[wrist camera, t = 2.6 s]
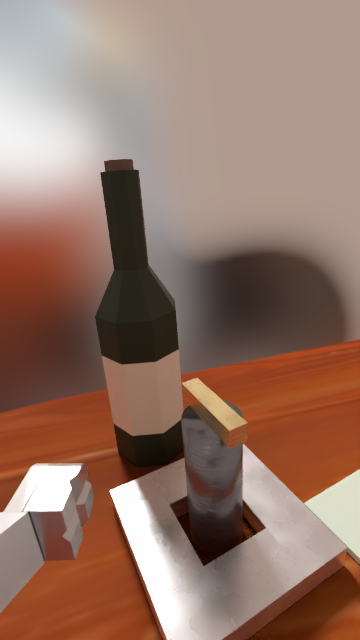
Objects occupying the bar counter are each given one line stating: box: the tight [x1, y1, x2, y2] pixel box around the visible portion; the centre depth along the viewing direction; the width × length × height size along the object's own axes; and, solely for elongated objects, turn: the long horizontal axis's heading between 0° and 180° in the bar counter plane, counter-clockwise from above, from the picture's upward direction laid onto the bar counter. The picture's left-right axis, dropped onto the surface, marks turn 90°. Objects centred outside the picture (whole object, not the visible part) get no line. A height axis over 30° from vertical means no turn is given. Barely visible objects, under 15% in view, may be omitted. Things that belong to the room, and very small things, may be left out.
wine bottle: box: [95, 159, 184, 467], centre depth 34 cm, size 8×8×30 cm
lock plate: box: [110, 444, 347, 640], centre depth 28 cm, size 14×14×2 cm
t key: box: [181, 378, 248, 559], centre depth 26 cm, size 6×4×13 cm
